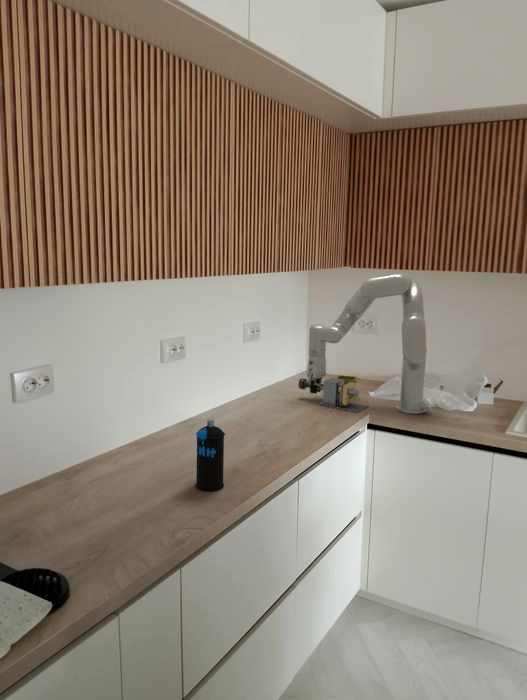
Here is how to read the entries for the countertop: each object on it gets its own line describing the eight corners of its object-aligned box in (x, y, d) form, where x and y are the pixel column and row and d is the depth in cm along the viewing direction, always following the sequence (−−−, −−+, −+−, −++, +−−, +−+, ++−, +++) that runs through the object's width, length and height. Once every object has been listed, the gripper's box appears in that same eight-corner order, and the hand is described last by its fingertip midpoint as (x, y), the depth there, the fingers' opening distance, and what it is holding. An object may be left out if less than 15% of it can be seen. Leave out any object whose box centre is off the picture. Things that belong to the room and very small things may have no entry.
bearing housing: (346, 403, 265) (347, 379, 263) (335, 408, 256) (336, 383, 254) (330, 400, 269) (331, 376, 267) (319, 405, 260) (320, 381, 258)
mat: (368, 407, 259) (368, 406, 259) (357, 413, 250) (357, 412, 249) (347, 403, 265) (347, 402, 265) (336, 409, 255) (336, 408, 255)
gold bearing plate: (354, 401, 261) (355, 382, 259) (346, 405, 254) (347, 386, 252) (350, 400, 262) (351, 382, 260) (342, 404, 255) (343, 385, 254)
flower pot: (334, 397, 275) (335, 378, 273) (337, 393, 283) (338, 374, 281) (353, 399, 272) (354, 380, 270) (356, 394, 280) (357, 376, 279)
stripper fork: (349, 404, 263) (350, 381, 261) (341, 408, 255) (342, 385, 254) (348, 404, 263) (349, 381, 261) (339, 408, 256) (340, 385, 254)
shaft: (359, 397, 257) (360, 386, 256) (354, 399, 253) (355, 388, 253) (303, 387, 272) (303, 377, 271) (298, 389, 268) (298, 379, 268)
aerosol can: (209, 478, 177) (210, 413, 173) (229, 485, 171) (231, 419, 168) (189, 486, 170) (190, 419, 167) (210, 494, 165) (210, 425, 162)
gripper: (315, 356, 254) (313, 397, 258) (332, 350, 268) (330, 390, 271) (300, 353, 258) (299, 394, 262) (318, 349, 272) (316, 387, 275)
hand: (315, 392), depth 266 cm, fingers closed on shaft, 2 cm apart
